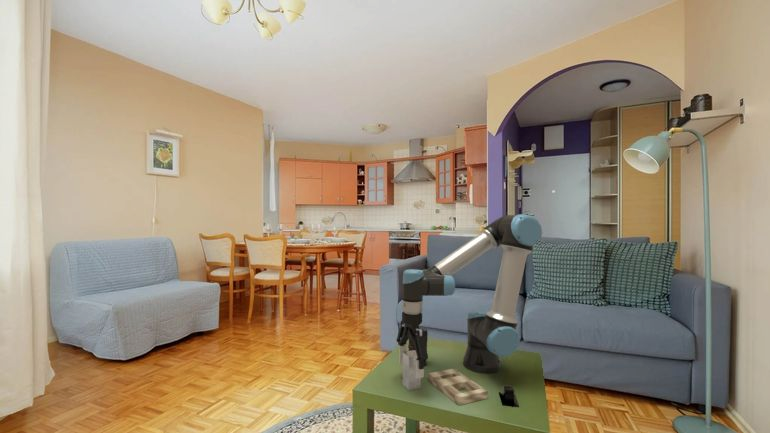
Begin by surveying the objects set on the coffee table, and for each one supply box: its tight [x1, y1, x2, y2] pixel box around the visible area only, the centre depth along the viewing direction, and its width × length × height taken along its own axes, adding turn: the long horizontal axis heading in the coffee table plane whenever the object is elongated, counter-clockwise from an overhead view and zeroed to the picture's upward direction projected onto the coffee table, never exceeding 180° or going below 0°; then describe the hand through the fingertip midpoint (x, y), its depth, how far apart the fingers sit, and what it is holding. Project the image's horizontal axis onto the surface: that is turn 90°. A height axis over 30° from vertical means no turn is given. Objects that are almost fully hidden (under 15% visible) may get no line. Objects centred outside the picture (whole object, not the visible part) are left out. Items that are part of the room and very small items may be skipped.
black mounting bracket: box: [498, 384, 520, 408], centre depth 119 cm, size 12×7×5 cm, turn 169°
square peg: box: [402, 350, 422, 391], centre depth 128 cm, size 5×5×12 cm
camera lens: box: [407, 325, 429, 366], centre depth 149 cm, size 8×8×15 cm
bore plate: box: [427, 368, 489, 406], centre depth 127 cm, size 12×20×2 cm, turn 23°
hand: (410, 369), depth 128 cm, fingers open, 13 cm apart
